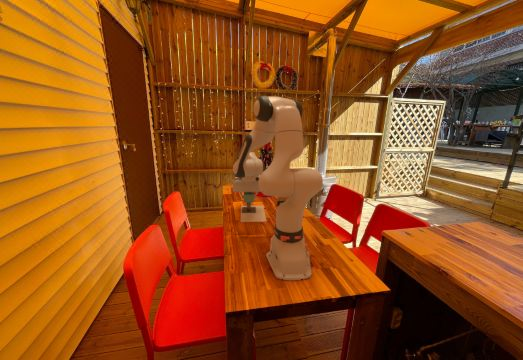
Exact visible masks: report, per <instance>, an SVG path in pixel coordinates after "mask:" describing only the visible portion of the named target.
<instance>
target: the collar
mask: <svg viewBox="0 0 523 360" xmlns="http://www.w3.org/2000/svg"><path fill="white" fill-rule="evenodd" d="M243 195H244V199H243V203H247V202H251V203H254V202H255V198H254V195H255V192H243Z"/></svg>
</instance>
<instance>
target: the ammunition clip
mask: <svg viewBox="0 0 523 360" xmlns="http://www.w3.org/2000/svg"><path fill="white" fill-rule="evenodd" d="M289 197H290V196H280V197H276V207H278V206H279V205H280V204H282V203H283V202H285V201H286V200H287V199H288V198H289Z"/></svg>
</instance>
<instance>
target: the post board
mask: <svg viewBox="0 0 523 360" xmlns="http://www.w3.org/2000/svg"><path fill="white" fill-rule="evenodd" d="M246 222H247V223H252V222H253V223H254V222H255V223H259V222H262V223H263V222H267V217H266V212H265V207H264V205H252V202H246V205H241V208H240V223H246Z"/></svg>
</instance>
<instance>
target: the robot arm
mask: <svg viewBox="0 0 523 360" xmlns="http://www.w3.org/2000/svg"><path fill="white" fill-rule="evenodd" d="M303 110H304V108H303V106H302V103H301V102H300V101H298V100H296V99H291V98H286V97H281V96H275V95H274V96H272V95H271V96H267V95H260V96H257V98H256V99H255V101H254V104H253V115H254V117H255V123H254V126H253V128H252V130H251V131H250V133H249V134H248V135H246V136H245V138H244V139H243V142H242V144H241V146H240V149H239V152H238V154H237V157H236V159H235V161H234V163H233V165H232V173H233V174H234V176H235V177H233V178H232V179H231V184H232V192H233V193H239V195H240V196H241V199H243V200H244V194H243V193H244V192H254V199H257V195H258V194H259V193H262V194H263V195H264V196H268V197H276V198H277V197H279V198H280V196H284V197H285V196H289V198H288V199H287V200H286V201H285V202H283V203H282V204H280V205H279V206H277V208H276V211H275V225H274V228H273V230H274V235H272V237H271V238H270V246H269V247H270V248H269V251H268V252H267V253H266V254H265V256H266V259H267V261H268V263H269V265H270V267H271V269H272V272H273V274H274V277H275V278H277V279H279V280H282V279H283V280H284V281H302V280H301V279H303V280H306V279H309V278H311V277H312V275H313V273H312V272H313V271H312V266H311V259H310V257H311V254H310V253H311V252H310V251H309V250H307V249H306V248H307V247H308V243H305V241H306V240H305V236H304V227H303V222H304V221H303V219H304V212H305V209H306V207H307V205H308V203H309V202H310V200H311V199H312V198H313V197H314V196H315V195H316V194H318V193H319V192H321V189H322V188H323V185H324V184H323V183H324V179H323V177H322V174H321V173H320V171H319V170H317V169H313V168H309V167H308V168H307V167H306V168H305V167H303V168H302V167H301V168H300V167H298V168H297V167H296V168H290V165H291V162H293V161H295V160H296V159H297V158H299V157H300V156H302V155H303V152H304V138H303V137H304V135H303V122H302V117H303ZM273 139H274V155H273V159H272V161H271V162H270V164H269V166H268V167H267V168H266V169H265V167H266V166H265V162H264V161H263V160H262V159H261V158H258V156H256V152H255V151H253V150H255V149H256V148H259V147H262V146H264V145H267V144H270V142H272V141H273Z"/></svg>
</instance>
